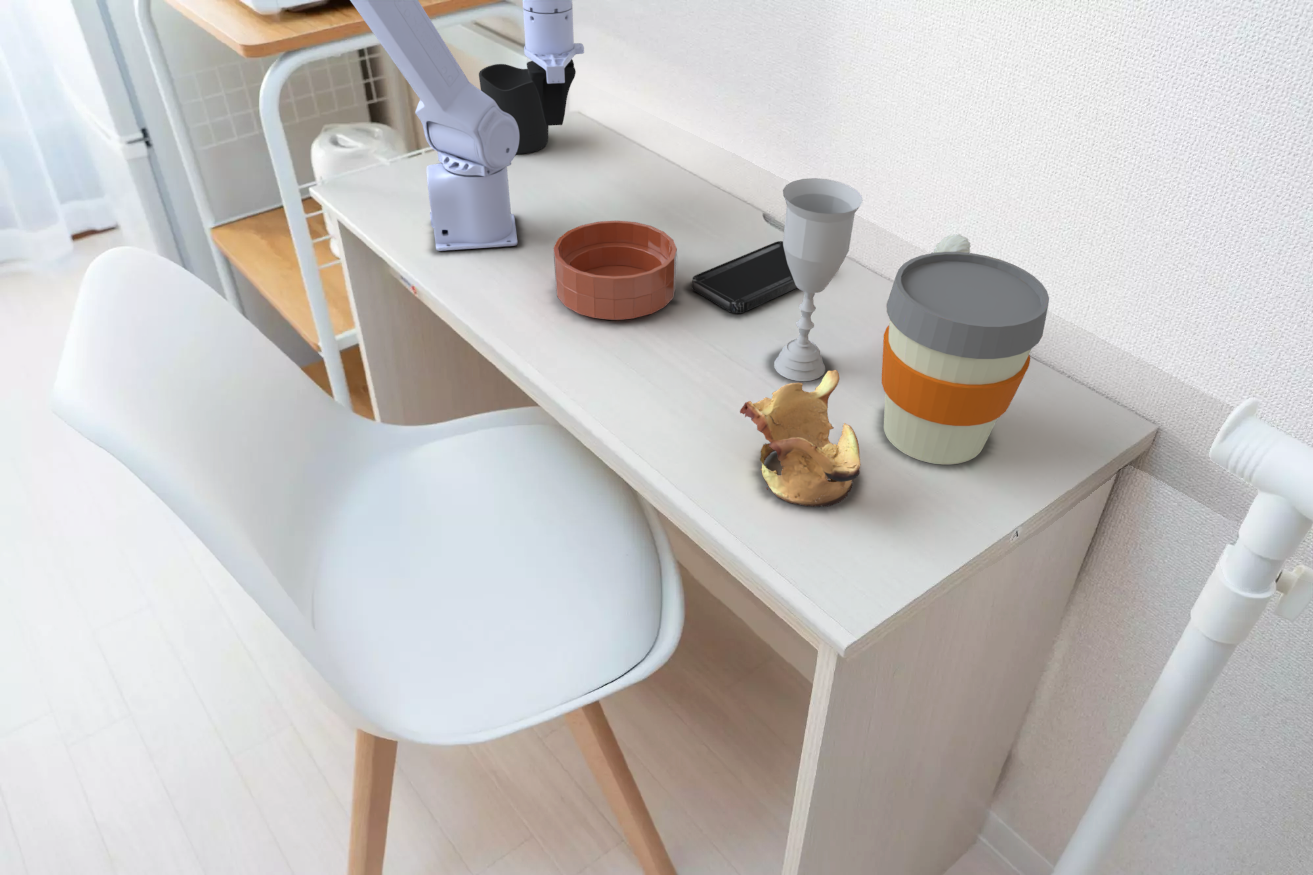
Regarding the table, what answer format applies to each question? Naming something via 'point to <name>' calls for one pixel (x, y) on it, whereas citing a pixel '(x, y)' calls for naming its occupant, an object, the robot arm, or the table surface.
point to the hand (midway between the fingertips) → (553, 123)
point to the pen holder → (517, 103)
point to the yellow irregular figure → (805, 445)
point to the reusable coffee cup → (956, 351)
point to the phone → (747, 279)
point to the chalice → (814, 259)
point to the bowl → (615, 269)
